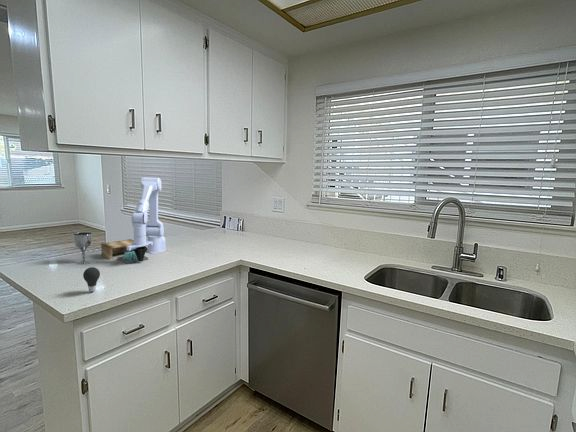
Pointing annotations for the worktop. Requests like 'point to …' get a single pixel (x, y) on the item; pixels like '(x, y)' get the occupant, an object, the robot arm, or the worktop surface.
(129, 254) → the teal rounded capsule
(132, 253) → the teal rounded cylinder
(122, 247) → the shelf
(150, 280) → the worktop surface
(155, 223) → the robot arm
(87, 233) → the wine glass
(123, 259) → the tray
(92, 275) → the light bulb
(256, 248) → the worktop surface
